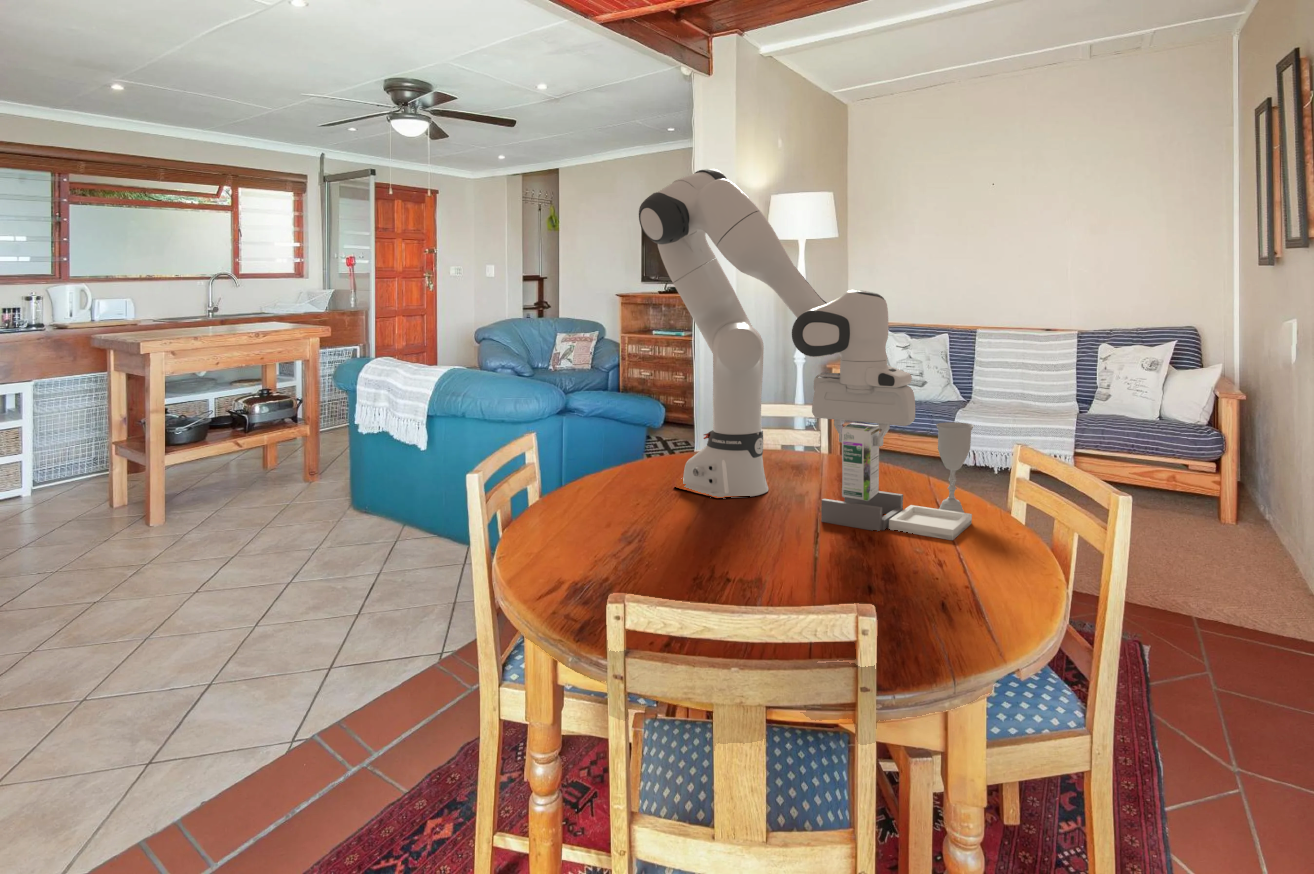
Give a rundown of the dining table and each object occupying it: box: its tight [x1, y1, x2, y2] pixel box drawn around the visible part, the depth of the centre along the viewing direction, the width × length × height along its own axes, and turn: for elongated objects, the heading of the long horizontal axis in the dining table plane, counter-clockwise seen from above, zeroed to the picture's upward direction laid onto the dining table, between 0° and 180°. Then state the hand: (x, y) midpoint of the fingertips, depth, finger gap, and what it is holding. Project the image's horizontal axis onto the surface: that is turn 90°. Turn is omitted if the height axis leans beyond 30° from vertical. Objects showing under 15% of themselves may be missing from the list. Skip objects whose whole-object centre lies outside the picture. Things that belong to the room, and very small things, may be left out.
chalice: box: [935, 421, 975, 513], centre depth 156 cm, size 7×7×18 cm
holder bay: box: [820, 490, 904, 532], centre depth 153 cm, size 12×12×4 cm
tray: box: [888, 504, 973, 541], centre depth 148 cm, size 12×12×2 cm
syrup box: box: [841, 422, 880, 501], centre depth 152 cm, size 6×6×14 cm
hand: (860, 443), depth 152 cm, fingers closed on syrup box, 6 cm apart
